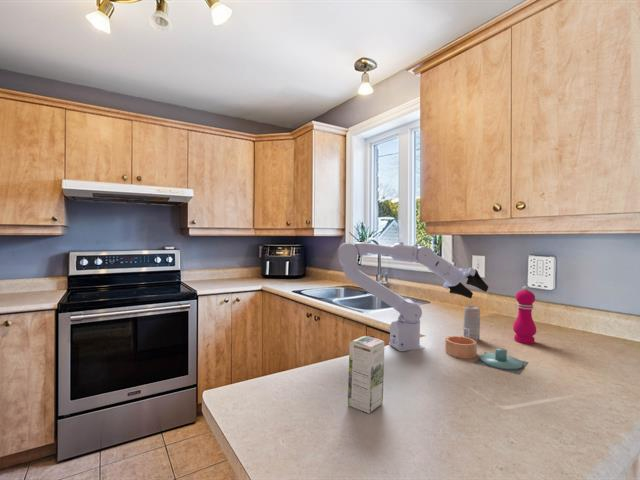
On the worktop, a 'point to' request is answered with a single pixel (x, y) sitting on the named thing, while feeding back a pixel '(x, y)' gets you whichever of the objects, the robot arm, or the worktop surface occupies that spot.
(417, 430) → the worktop surface
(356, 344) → the syrup box
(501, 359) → the cover
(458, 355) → the bowl
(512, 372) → the mat
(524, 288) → the pepper mill
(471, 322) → the energy drink
